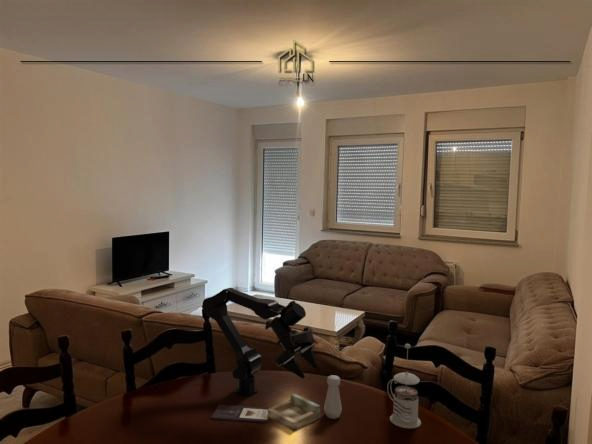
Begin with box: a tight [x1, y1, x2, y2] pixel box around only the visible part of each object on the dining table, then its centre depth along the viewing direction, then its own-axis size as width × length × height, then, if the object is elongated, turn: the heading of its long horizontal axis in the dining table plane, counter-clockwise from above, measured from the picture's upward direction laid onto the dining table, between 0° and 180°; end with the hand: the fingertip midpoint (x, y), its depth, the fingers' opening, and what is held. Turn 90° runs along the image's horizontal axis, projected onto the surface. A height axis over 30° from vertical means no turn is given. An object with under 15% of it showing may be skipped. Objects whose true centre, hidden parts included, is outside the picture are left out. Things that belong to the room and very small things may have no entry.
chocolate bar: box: [210, 403, 270, 424], centre depth 140 cm, size 9×1×18 cm
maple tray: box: [268, 393, 321, 432], centre depth 138 cm, size 12×12×4 cm
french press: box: [386, 343, 422, 429], centre depth 138 cm, size 10×12×25 cm
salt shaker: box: [323, 374, 342, 420], centre depth 139 cm, size 6×6×13 cm
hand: (310, 372), depth 142 cm, fingers open, 9 cm apart
